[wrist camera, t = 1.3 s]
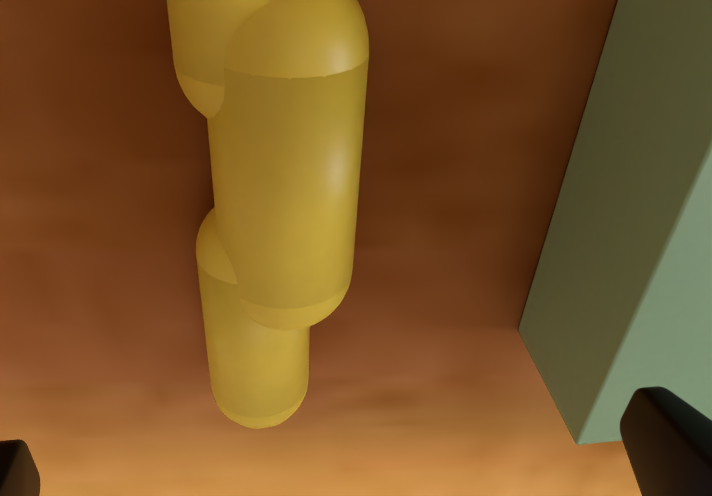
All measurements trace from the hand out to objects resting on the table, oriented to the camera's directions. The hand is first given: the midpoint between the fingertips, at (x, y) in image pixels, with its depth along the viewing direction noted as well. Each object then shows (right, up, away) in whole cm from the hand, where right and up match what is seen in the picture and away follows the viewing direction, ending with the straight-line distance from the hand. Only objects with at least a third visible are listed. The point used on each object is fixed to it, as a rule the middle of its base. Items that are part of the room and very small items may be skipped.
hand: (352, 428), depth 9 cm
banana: (-2, +6, +7) cm, 10 cm away
